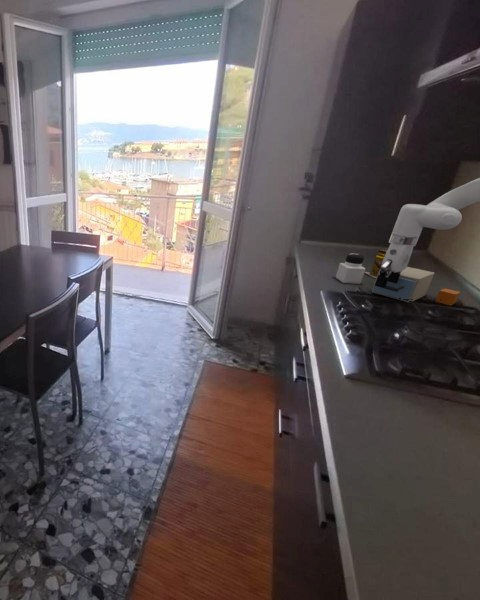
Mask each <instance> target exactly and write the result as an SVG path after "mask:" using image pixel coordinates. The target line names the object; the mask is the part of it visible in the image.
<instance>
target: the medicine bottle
mask: <svg viewBox="0 0 480 600" xmlns="http://www.w3.org/2000/svg"><path fill="white" fill-rule="evenodd" d="M364 260H365V256H364V255H362V254H360V253H348V254H347V255H346V258H345V261H344V262H339V265H338V267H337V271H336V275H335V278H336V279H337V280H338V281H340V282H341V283H342V284H353V285H354V284H356V285H357V284H358V285H362V281H363V280H364V279H363V278H364V276H365V274H366V273H365V272H366V269H367V268H365V267H364V266H363V263H364Z"/></svg>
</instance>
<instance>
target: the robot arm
mask: <svg viewBox="0 0 480 600" xmlns="http://www.w3.org/2000/svg"><path fill="white" fill-rule="evenodd" d="M477 203H480V177H478V178H476V179H474V180H471V181H469V182H467V183H464V184H463V185H460V186H458V187H456V188H453V189H451V190H449V191H447V192H445V193H444V194H442V195H441V196H438V197H437V198H436V199H434V200H433V201H430V202H429V203H428V204H426V205H424V204H418V203H407V204H404V205H402V207H401V208H400V211H399V213H398V215H397V219H396V221H395V224H394V227H393V229H392V231H391V235H390V237H389V239H388V244H389V246H388V248H387V249H386V250H387V252H386V255H385V257H384V259H383V262H382V265H381V270H380V273H379V274H378V278H377V280H376V279H375V281H376V283H375V282H374V284H375V286H378V287H382V288H385V287H386V285H387V282H392V283H397V282H398V279H399V277H400V274H401V272H402V270H405V269H406V268H407V267H408V265H409V262H410V260H411V257H412V253H413V251H414V247H416V246H417V243H418V241H419V238H420V236H421V234H422V231H423V228H428V229H432V230H433V229H434V230H438V231H439V230H440V231H445V230H447V231H448V230H451V229H453V228H455V227H457V226H459V224H460V223H461V222H462V220H463V215H462V213H461V212H460V211H459V210H461V209H464V208H466V207H468V206H470V205H474V204H477ZM392 271H393V272H392ZM387 272H388V273H387Z"/></svg>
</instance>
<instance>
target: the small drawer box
mask: <svg viewBox="0 0 480 600" xmlns="http://www.w3.org/2000/svg"><path fill="white" fill-rule="evenodd" d="M392 272H393V271H392ZM379 273H380V270H379ZM379 273H378V274H379ZM387 273H388V272H387ZM434 275H435V272H433V271H429V270H424V269H420V268H414V267H410V266H407V268H406V269H405V270H402V272H401V274H400V277H403V278H407V279H411V280H416V283H415V285H414V288H413V290H412V293H411V295H410V297H409V299H413V300H408V301H405V300H402V299H398V298H395V297H391V296H387V295H384V294H380V293H377V292H373V288H374V285H375V282H376V279H377V278H375V280H374V284H373V287H372V290H371V293H374V294H376V295H381V296H384V297H386V298H387V297H388V298H391V299H395V300H398V301H403V302H405V303H409V301H412V302H414V301H417V300H418V299H421V298H423V297H425V296H426V294H427V293H428V290H429V287H430V285H431V283H432V280H433V278H434ZM377 277H378V275H377Z"/></svg>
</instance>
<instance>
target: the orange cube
mask: <svg viewBox="0 0 480 600" xmlns="http://www.w3.org/2000/svg"><path fill="white" fill-rule="evenodd" d="M460 294H461V291H457V290H454V289H449V288H442V289H440V290H439V292H438V294H437V296H436V299H435V303H439V304H443V305H447V306H454V305H455V304H456V303H457V301H458V299H459V297H460ZM440 299H441V300H442V301H441V300H440Z"/></svg>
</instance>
